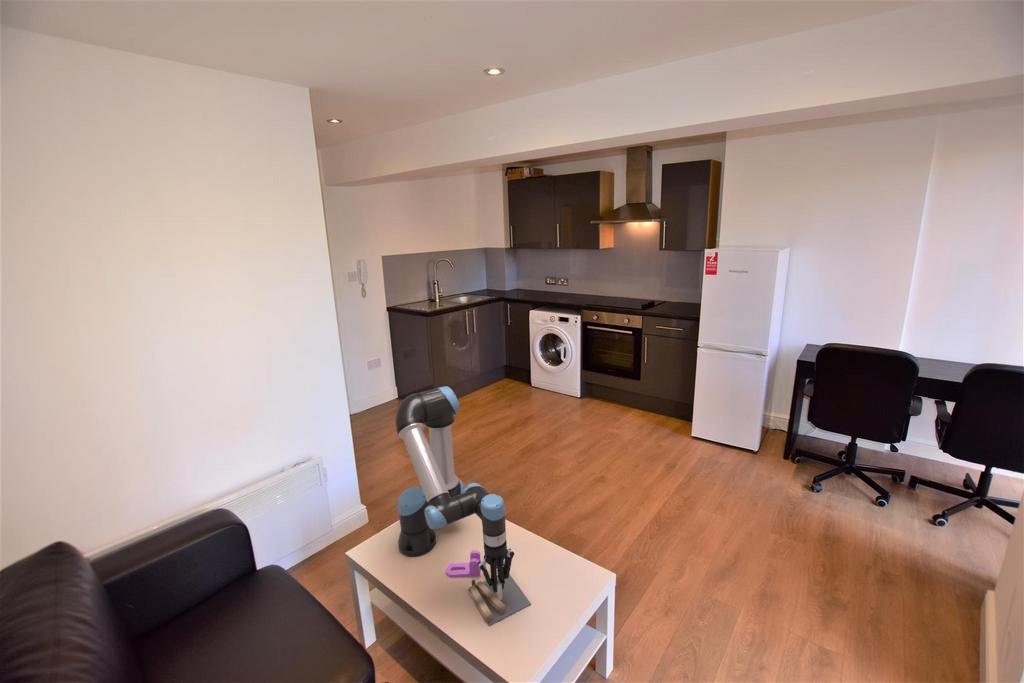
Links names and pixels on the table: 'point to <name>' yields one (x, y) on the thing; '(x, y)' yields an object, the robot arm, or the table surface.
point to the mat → (507, 600)
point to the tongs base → (480, 602)
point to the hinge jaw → (490, 597)
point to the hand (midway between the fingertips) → (498, 597)
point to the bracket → (465, 567)
